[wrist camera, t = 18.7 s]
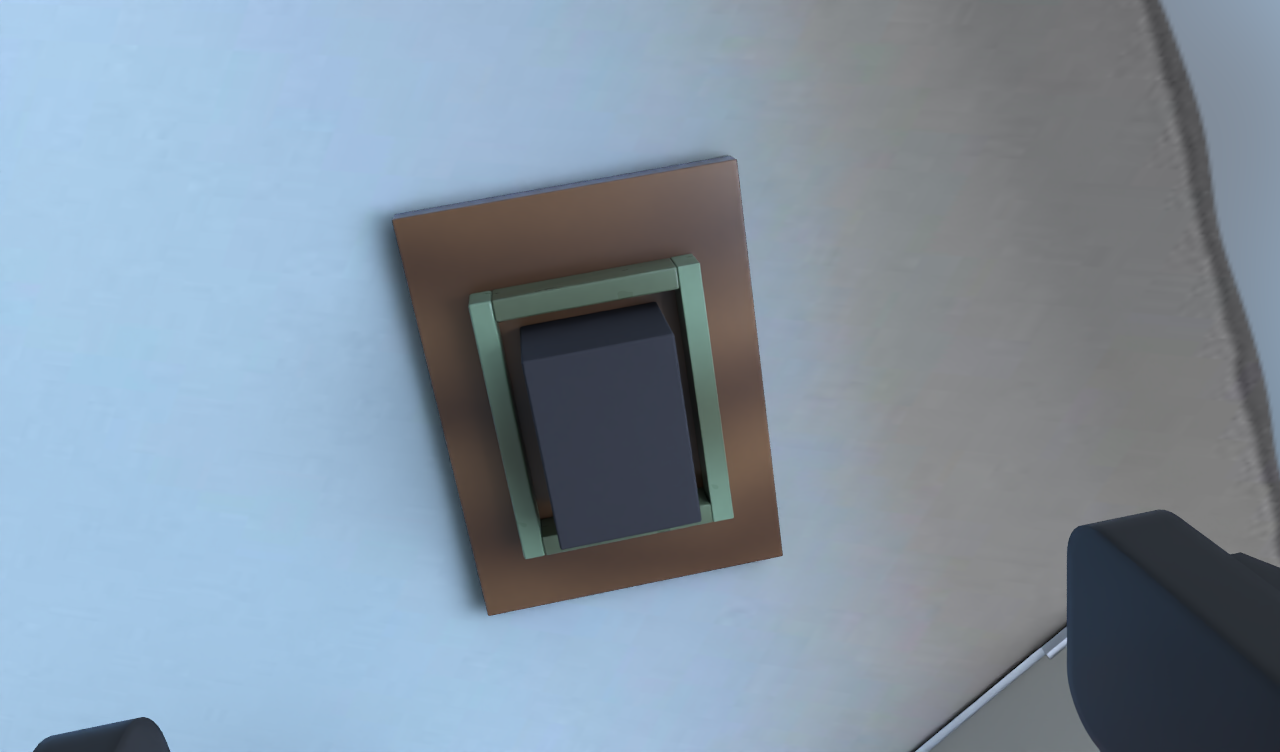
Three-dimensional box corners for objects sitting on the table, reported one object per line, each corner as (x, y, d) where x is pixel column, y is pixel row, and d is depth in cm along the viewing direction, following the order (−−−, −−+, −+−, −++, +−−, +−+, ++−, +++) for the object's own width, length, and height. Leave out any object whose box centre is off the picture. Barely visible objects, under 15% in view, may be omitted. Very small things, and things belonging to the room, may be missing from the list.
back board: (394, 214, 35) (386, 228, 32) (730, 155, 35) (747, 164, 33) (488, 602, 40) (487, 639, 38) (776, 544, 41) (793, 575, 39)
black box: (519, 326, 35) (521, 362, 32) (656, 300, 36) (674, 333, 32) (554, 499, 38) (560, 551, 34) (682, 473, 38) (702, 522, 34)
